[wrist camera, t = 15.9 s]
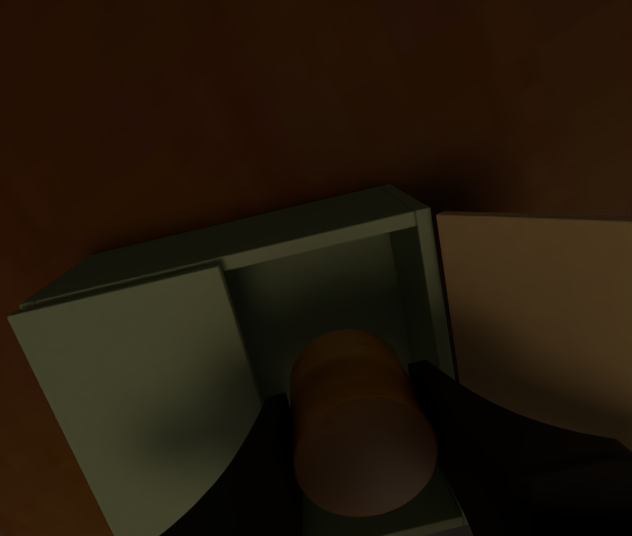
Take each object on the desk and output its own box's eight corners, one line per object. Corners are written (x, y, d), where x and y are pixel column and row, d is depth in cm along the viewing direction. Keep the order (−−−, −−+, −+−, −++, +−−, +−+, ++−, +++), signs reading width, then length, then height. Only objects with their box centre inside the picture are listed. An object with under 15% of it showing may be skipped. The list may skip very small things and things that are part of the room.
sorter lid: (724, 224, 8) (730, 218, 8) (435, 214, 13) (443, 210, 13) (692, 678, 12) (697, 666, 12) (481, 540, 17) (487, 533, 17)
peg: (410, 413, 17) (448, 499, 13) (304, 438, 17) (310, 532, 13) (392, 316, 15) (428, 380, 12) (277, 343, 15) (275, 416, 12)
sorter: (90, 254, 19) (2, 315, 13) (390, 183, 19) (439, 211, 13) (185, 490, 23) (152, 619, 17) (432, 432, 23) (484, 541, 17)
